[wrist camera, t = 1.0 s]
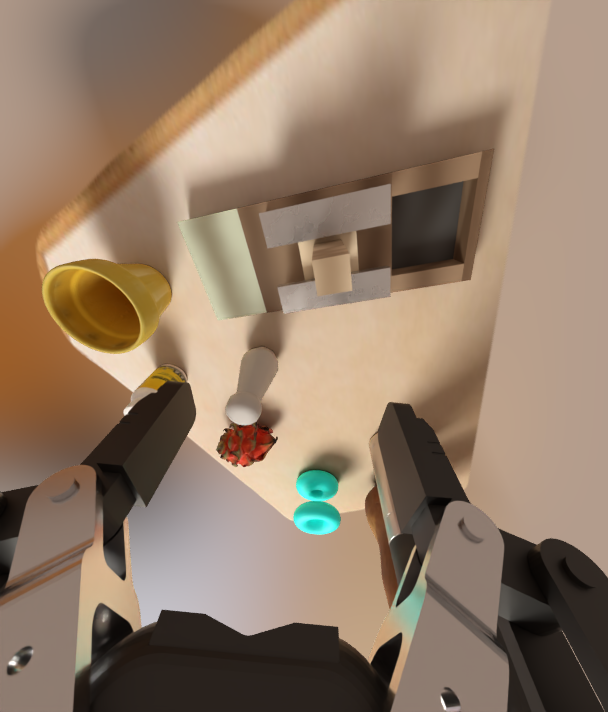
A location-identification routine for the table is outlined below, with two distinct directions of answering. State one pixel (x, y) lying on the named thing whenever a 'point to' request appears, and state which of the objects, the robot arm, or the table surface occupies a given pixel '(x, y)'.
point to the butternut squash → (381, 543)
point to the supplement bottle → (156, 382)
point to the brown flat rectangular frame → (375, 245)
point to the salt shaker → (252, 385)
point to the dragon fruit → (245, 444)
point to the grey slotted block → (323, 222)
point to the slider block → (330, 262)
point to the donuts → (317, 503)
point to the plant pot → (106, 302)
